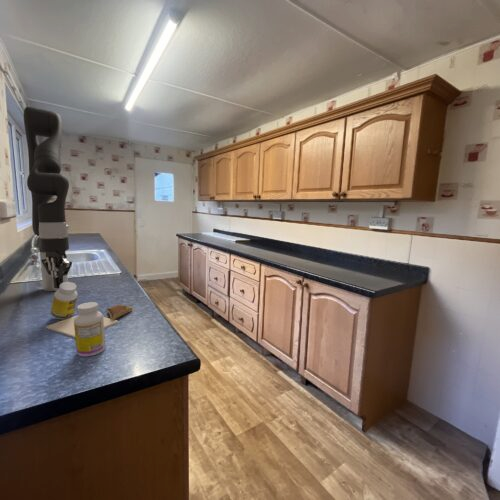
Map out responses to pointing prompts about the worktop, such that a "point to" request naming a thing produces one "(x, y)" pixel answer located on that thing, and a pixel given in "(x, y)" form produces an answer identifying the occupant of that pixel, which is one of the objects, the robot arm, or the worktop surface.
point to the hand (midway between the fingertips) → (59, 287)
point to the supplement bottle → (89, 330)
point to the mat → (68, 325)
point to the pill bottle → (64, 301)
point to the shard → (118, 311)
